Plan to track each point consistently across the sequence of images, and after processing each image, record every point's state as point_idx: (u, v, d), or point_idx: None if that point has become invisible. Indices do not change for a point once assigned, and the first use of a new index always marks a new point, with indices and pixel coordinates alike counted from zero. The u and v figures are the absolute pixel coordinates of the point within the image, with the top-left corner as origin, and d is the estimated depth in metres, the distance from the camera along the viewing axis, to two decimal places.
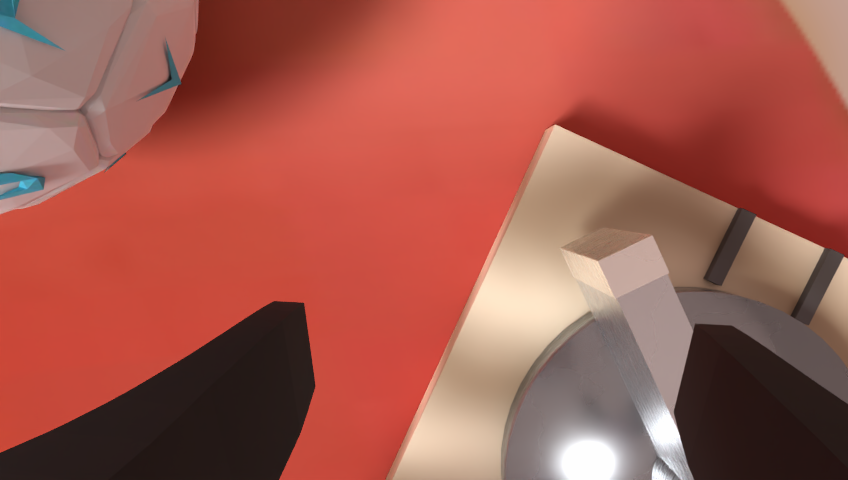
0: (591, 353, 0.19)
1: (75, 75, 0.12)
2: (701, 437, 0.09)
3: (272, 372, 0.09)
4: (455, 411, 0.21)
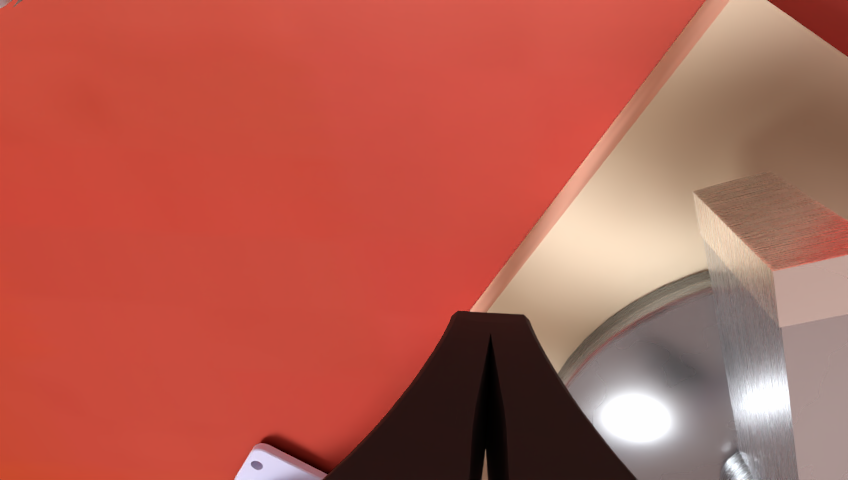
0: (692, 331, 0.14)
1: None
2: (488, 420, 0.09)
3: (485, 387, 0.08)
4: None
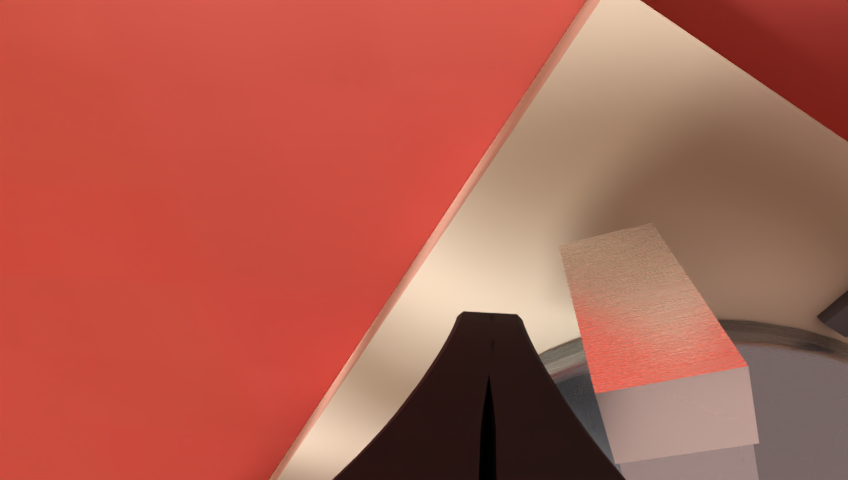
0: (576, 410, 0.12)
1: None
2: None
3: None
4: (366, 421, 0.14)
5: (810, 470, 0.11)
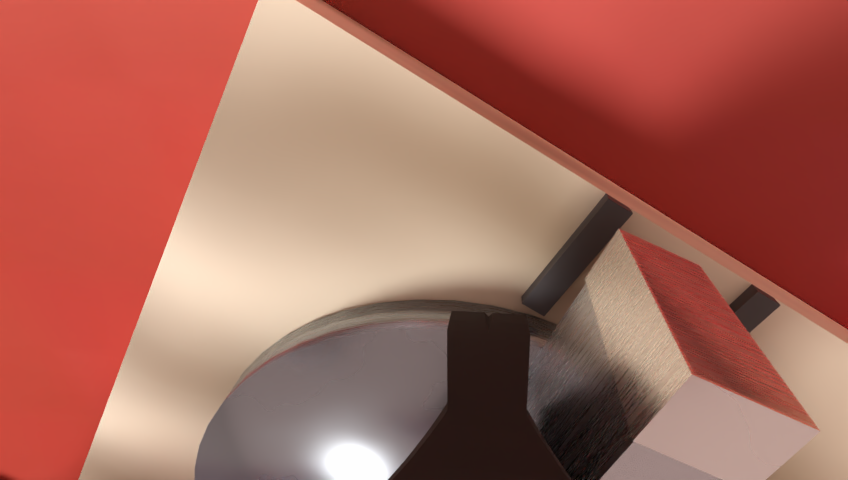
0: None
1: None
2: None
3: None
4: (152, 399, 0.15)
5: None
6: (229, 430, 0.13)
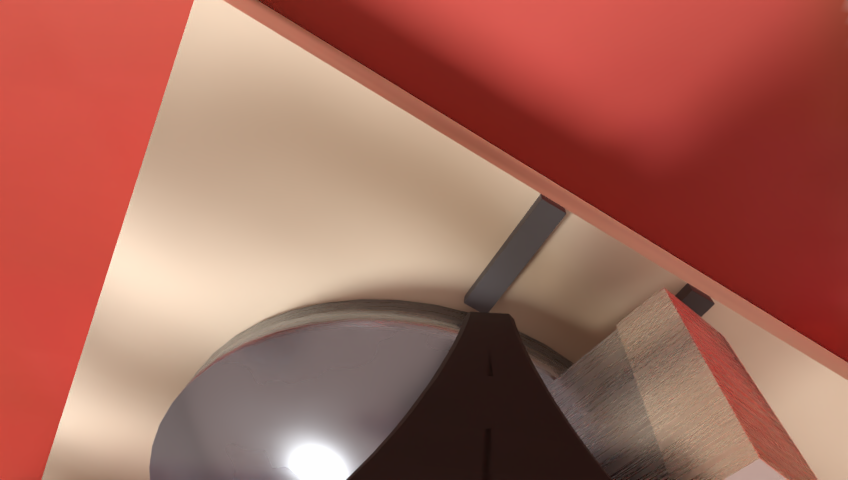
0: None
1: None
2: None
3: None
4: (109, 399, 0.15)
5: None
6: (210, 394, 0.13)
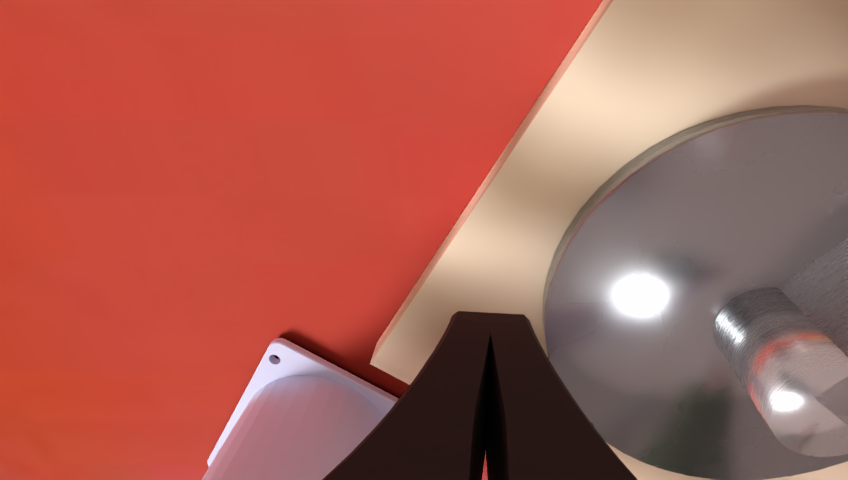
0: None
1: None
2: (488, 420, 0.09)
3: (485, 387, 0.08)
4: (504, 221, 0.18)
5: None
6: (646, 188, 0.16)
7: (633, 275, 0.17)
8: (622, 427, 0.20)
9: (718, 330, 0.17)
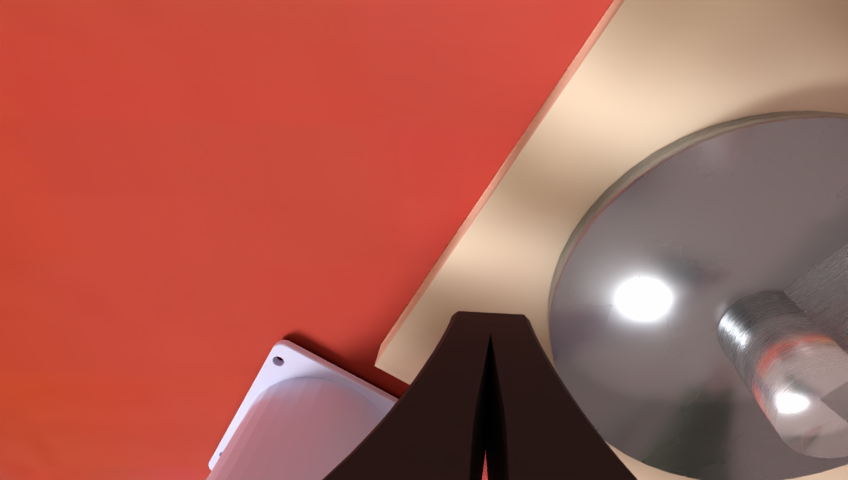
0: None
1: None
2: (488, 420, 0.09)
3: (485, 387, 0.08)
4: (510, 223, 0.18)
5: None
6: (652, 191, 0.16)
7: (638, 278, 0.17)
8: (626, 429, 0.20)
9: (722, 333, 0.17)
